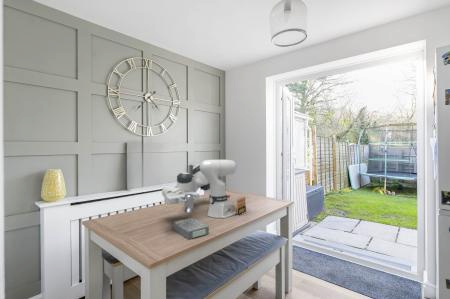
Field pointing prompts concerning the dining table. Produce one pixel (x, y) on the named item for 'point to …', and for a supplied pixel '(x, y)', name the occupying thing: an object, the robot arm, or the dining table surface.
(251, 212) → the dining table surface
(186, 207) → the cylinder
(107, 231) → the dining table surface
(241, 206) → the ammunition clip
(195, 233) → the kitchen scale
